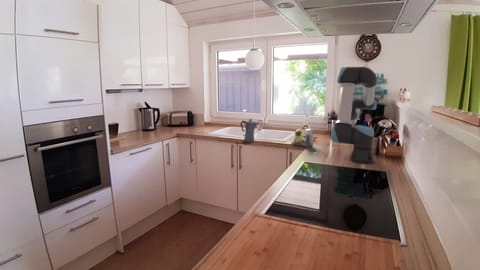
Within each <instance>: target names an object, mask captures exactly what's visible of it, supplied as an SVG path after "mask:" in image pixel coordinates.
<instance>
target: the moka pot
mask: <svg viewBox="0 0 480 270" xmlns="http://www.w3.org/2000/svg"><path fill="white" fill-rule="evenodd" d="M243 124H244V125H243ZM257 125H258V122H257V121H253V120H252V118H249V120H242V121H241V122H240V127H241V130H242V132H245V135H244V139H243V141H244V142H246V143H254V142H255V134H254V133H255V129H256V128H257ZM244 126H245V129H244Z"/></svg>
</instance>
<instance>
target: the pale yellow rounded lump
mask: <svg viewBox="0 0 480 270" xmlns="http://www.w3.org/2000/svg"><path fill="white" fill-rule="evenodd" d="M304 130H305V129H301V128H297V129H296V130H295V131H294V137H293V138H294V139H293V141H292V142H291V145H293V146H301V147H303V146H304V147H305V140H306V137H304Z"/></svg>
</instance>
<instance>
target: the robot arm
mask: <svg viewBox="0 0 480 270" xmlns="http://www.w3.org/2000/svg"><path fill="white" fill-rule="evenodd" d="M337 75H338V76H337V82H336V83H337V84H338V86H339V88H340V94H339V101H338V102H339V103H338V109H337V110H338V111H337V114H331V115H327V116H324V117H323V121H325V122H326V121H335V122H334V125H332V126H331V128H330V129H331V130H330V131H331V133H330V134H331V141H332V142H333V143H335V144H343V145H344V144H346V145H352V146H353V147H352V148H353V149H351V150H352V151H351V152H350V155H349V161H351V162H354V163H358V164H365V165H366V164H367V165H368V164H370V165H371V164H374V163H375V156H374V153H373V145H374V137H375V135H374V134H375V130H374V129H373V128H372V127H369V126H366V125H360V124H359V125H358V124H357V125H355V126H354V127H353V124H352V123H351V121H356V120H357V119H358V118H359V112H357V110H369V111H370V110H374V111H375V110H376V109H377V107H378V106H377V104H378V101H377V100H376V99H375V94H376V93H375V92H376V85H377V83H378V77H377V74H376V73H375V71H373V70H372V69H371V68H369V67H367V66H346V67H345V66H344V67H341V68H340V69H339V72H338V74H337ZM358 85H362V86H363V99H359V98H358V96H354V93H355V89H356V88H357V87H358Z"/></svg>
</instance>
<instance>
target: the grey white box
mask: <svg viewBox="0 0 480 270" xmlns="http://www.w3.org/2000/svg"><path fill="white" fill-rule="evenodd" d="M314 132H315V129H314V128H306V129H305V145H304V147H305V149H306V150H309V148H313V147H314V136H315V135H314Z"/></svg>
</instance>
